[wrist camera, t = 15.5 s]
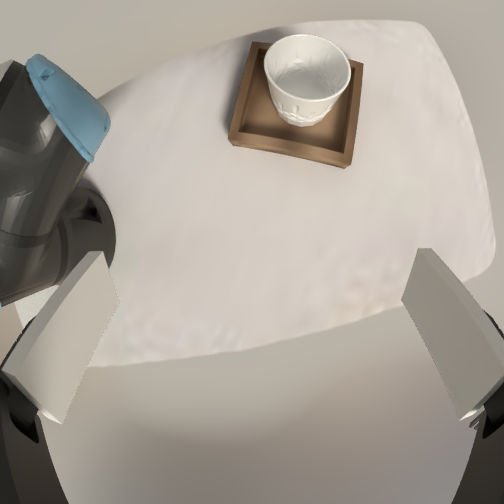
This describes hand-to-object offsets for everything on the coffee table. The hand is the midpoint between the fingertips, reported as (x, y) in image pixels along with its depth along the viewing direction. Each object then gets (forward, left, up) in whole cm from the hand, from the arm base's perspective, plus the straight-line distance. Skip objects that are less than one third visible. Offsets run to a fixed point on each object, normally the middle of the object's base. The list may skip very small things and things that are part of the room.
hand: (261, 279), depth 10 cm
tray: (0, +16, -23) cm, 28 cm away
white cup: (0, +16, -22) cm, 28 cm away
